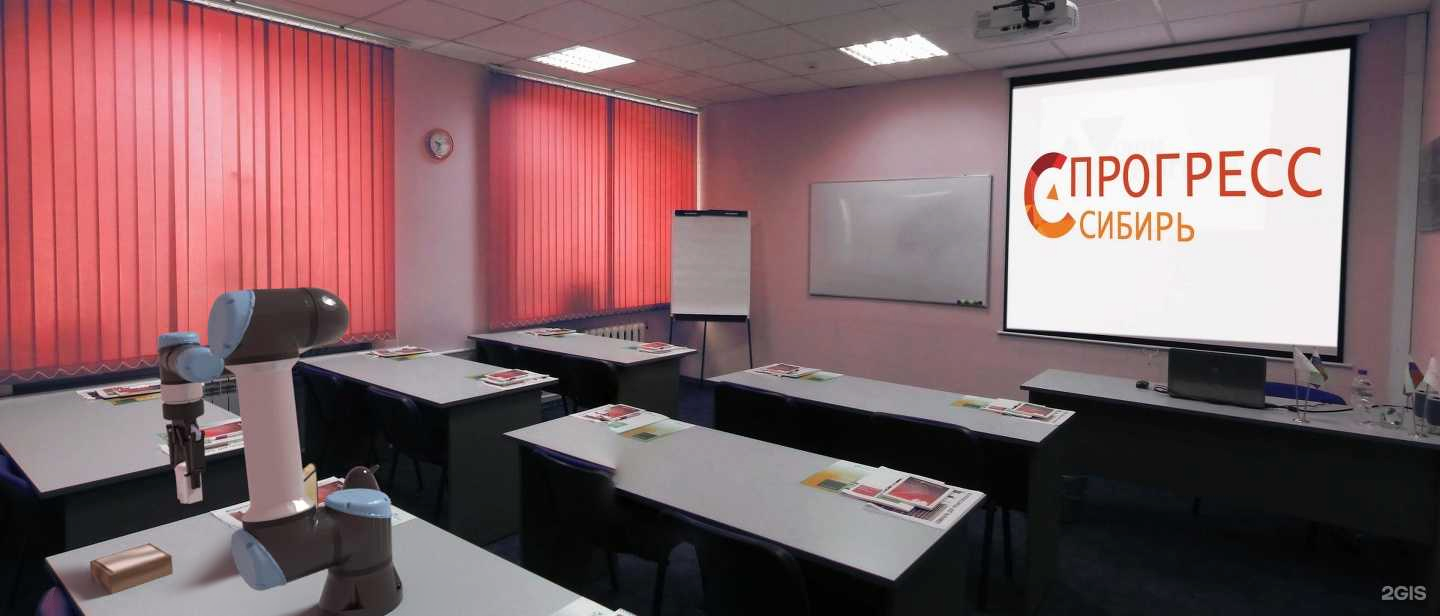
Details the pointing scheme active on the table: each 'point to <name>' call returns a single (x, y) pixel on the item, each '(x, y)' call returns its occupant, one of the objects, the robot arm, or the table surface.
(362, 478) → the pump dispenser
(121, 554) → the dock
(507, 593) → the table surface
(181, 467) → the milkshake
